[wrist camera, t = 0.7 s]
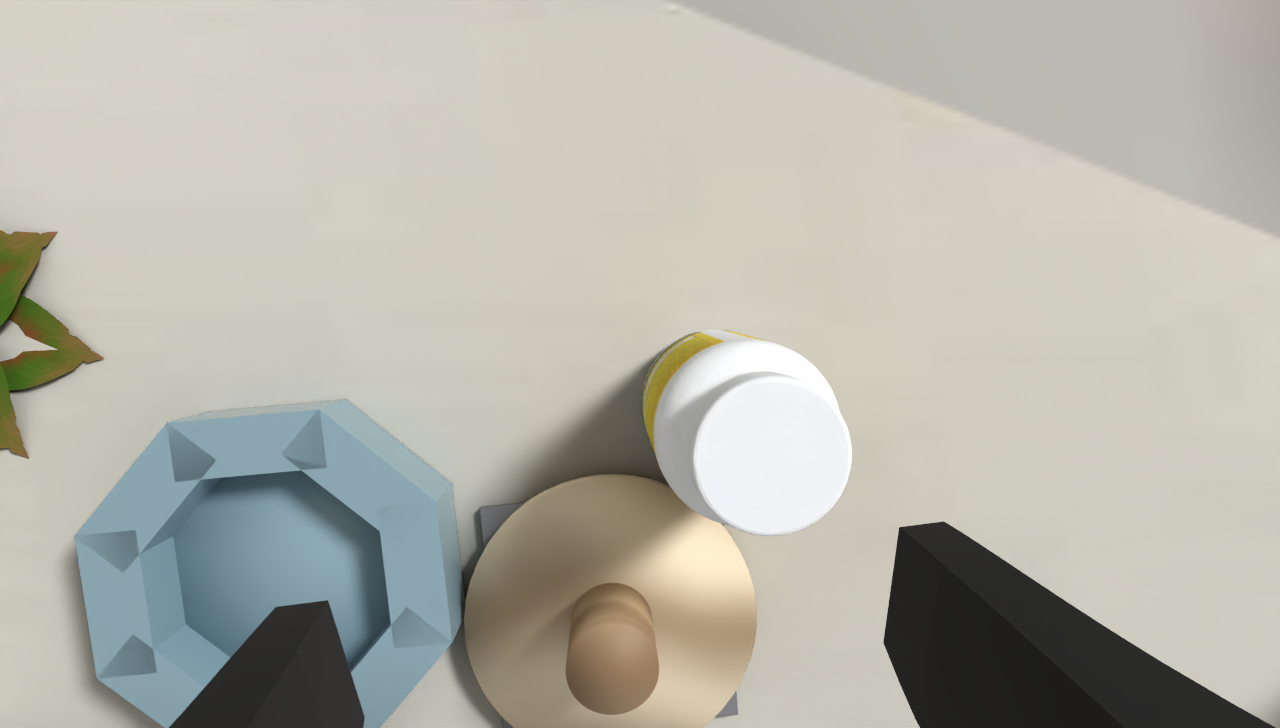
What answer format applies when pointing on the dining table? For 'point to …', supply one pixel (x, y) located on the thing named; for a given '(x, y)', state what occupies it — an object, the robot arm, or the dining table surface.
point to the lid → (609, 610)
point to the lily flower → (30, 332)
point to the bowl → (270, 552)
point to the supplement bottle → (746, 432)
